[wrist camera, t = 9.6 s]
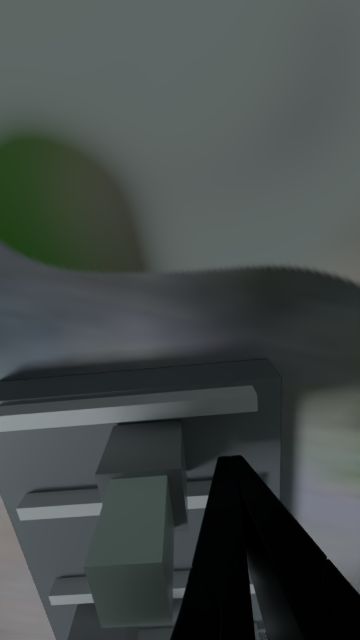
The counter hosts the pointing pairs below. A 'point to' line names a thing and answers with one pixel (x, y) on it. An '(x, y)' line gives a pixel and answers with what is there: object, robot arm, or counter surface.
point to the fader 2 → (97, 626)
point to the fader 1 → (138, 524)
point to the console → (87, 449)
